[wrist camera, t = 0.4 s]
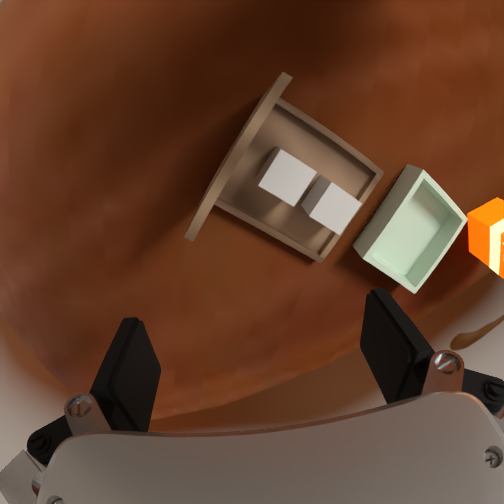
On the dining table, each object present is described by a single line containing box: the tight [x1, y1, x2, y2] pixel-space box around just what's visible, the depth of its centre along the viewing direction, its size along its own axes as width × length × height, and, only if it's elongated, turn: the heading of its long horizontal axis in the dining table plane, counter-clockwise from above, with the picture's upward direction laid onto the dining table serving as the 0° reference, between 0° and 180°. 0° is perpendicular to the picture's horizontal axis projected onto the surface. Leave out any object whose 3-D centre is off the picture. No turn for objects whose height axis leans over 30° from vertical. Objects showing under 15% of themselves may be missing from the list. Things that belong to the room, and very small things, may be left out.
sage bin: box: [352, 164, 468, 294], centre depth 36 cm, size 14×12×4 cm
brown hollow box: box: [184, 72, 384, 263], centre depth 28 cm, size 15×17×14 cm
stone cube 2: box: [301, 175, 362, 235], centre depth 33 cm, size 4×4×4 cm
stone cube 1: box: [256, 146, 317, 206], centre depth 32 cm, size 4×4×4 cm
